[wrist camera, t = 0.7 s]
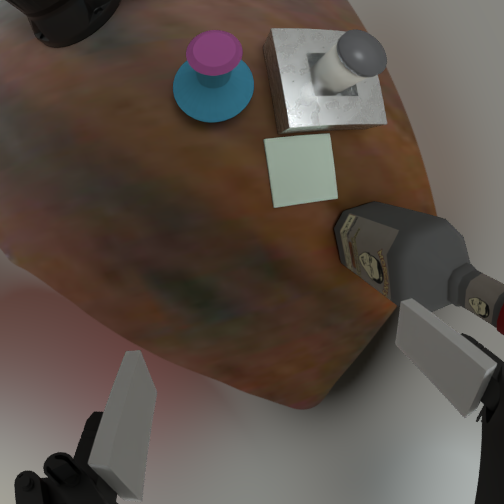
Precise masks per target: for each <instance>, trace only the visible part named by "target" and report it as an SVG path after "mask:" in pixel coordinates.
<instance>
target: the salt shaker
mask: <svg viewBox="0 0 504 504" xmlns="http://www.w3.org/2000/svg"><path fill="white" fill-rule="evenodd" d="M386 64H387V57H386V53H385V50H384V48H383V47H382V45H381V44H380V42H379V41H378V40H377V39H376V38H374V37H373V36H372V35H370V34H369V33H367V32H364V31H361V30H350V31H347V32H345V33H344V34H343V35H342V36H341V37H340V38H339V39H338V42H337V43H336V44H335V45H334V46H333V47H332V48H331V49H330V50H329V51H328V52H327V53H326V54H325V55H323V56H322V57H321V58H320V59H319V60H318V61H317V62H316V63H315V64H314V65H313V66H312V67H311V68H310V74H311V79H312V84H313V89H314V94H315V96H335V95H337V94H338V93H340V92H342V91H344V90H346V89H347V88H349V87H351V86H353V85H355V84H357V83H358V82H360V81H362V80H364V79H366V78H368V77H374V76H376V75H378V74H380V73H381V72H383V71H384V69H385V67H386Z"/></svg>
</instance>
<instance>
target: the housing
mask: <svg viewBox="0 0 504 504" xmlns="http://www.w3.org/2000/svg"><path fill="white" fill-rule="evenodd" d="M344 33H345V32H343V31H333V30H319V29H293V28H277V29H271V30H270V32H269V34H268V37H267V39H266V41H265V43H264V46H263V52H264V57H265V62H266V67H267V73H268V78H269V84H270V89H271V95H272V101H273V107H274V113H275V119H276V125H277V131H278V134H287V133H298V132H311V131H327V130H350V129H368V128H372V127H377V126H381V125H386V124H387V120H386V114H385V109H384V103H383V98H382V93H381V88H380V83H379V79H378V75H376V76H374V77H368V78H366V79H364V80H362V81H360V82H358V83H357V84H355V85H353V86H351V87H349V88H347V89H346V90H344V91H342V92H340V93H338V94H337V95H335V96H315V94H314V89H313V84H312V79H311V74H310V68H311V67H312V66H313V65H314V64H315V63H316V62H317V61H318V60H319V59H320V58H321V57H322V56H323V55H325V54H326V53H327V52H328V51H329V50H330V49H331V48H332V47H333V46H334V45H335V44H336V43H337V42H338V39H339V38H340V37H341V36H342V35H343V34H344Z"/></svg>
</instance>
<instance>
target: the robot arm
mask: <svg viewBox="0 0 504 504" xmlns="http://www.w3.org/2000/svg"><path fill="white" fill-rule="evenodd" d="M6 1H7V2H9V3H10V4H12V5H13V6H14V7H16V8H17V9H18V10H20V11H21V12H23V13H24V14H25V15H26V16H27V17H28V19H29V22H30V25H31V27H32V30H33V32H34V35H35V36H36V38H37V39H38V40H40V41H41V42H42V43H44V44H45V45H47V46H50V47H64V46H68V45H71V44H74V43H76V42H79V41H81V40H83V39H84V38H86V37H88V36H89V35H91V34H92V33H94V32H95V31H96V30H97V29H99V28H100V27H101V26H102V25H103V24H104V23H105V22H106V21H107V20H108V19H109V18H110V17H111V16H112V14H113V13H114V12H115V10H116V8H117V7H118V5H119V3H120V0H6ZM395 344H396V346H398V348H399V349H400V350H401V351H402V352H403V353H404V354H405V355H406V356H407V357H408V358H409V359H410V360H411V361H412V362H413V363H414V364H415V365H416V366H417V367H418V368H419V369H420V370H421V371H422V372H423V374H424V375H425V376H426V377H427V378H428V379H429V380H430V381H431V382H432V383H433V384H434V385H435V386H436V387H437V388H438V390H439V391H440V392H441V393H442V394H443V395H444V396H445V397H446V398H447V399H448V400H449V401H450V402H451V404H452V405H453V406H454V407H455V408H456V409H457V410H458V411H459V412H460V414H461V415H462V416H463V417H464V418H466V417H467V416H469V415H470V414H472V413H473V412H474V411H476V409H477V407H478V405H479V403H480V401H481V402H482V403H483V404H484V406H483V408H482V410H481V411H480V413H479V416H478V417H477V420H476V422H478V421H479V419H480V417H481V416H482V420H481V422H482V444H481V459H480V470H479V478H478V486H477V493H476V499H475V504H504V362H503V361H502V360H501V359H499V358H498V357H497V356H496V355H494V354H493V353H492V352H491V351H489V350H488V349H487V348H484V346H483V345H482V344H480V343H478V342H477V341H476V340H475V339H474V338H472V337H471V336H468V335H466V334H463V333H462V334H459V333H458V332H457V331H456V330H454V329H453V328H451V327H450V326H449V325H448V324H446V323H445V322H443V321H442V320H441V319H440V318H438V317H437V316H436V315H434V314H433V313H432V312H430V311H429V310H427V309H426V308H425V307H423V306H422V305H421V304H419V303H418V302H416V301H415V300H414V299H412V298H411V299H407V300H404V301H401V304H400V313H399V321H398V329H397V335H396V342H395ZM156 396H157V390H156V388H155V386H154V383H153V381H152V378H151V376H150V374H149V371H148V369H147V366H146V363H145V361H144V358H143V356H142V353H141V351H140V350H137V351H126V353H125V355H124V358H123V360H122V363H121V366H120V368H119V371H118V373H117V376H116V379H115V382H114V384H113V387H112V390H111V393H110V395H109V398H108V401H107V404H106V407H105V410H104V412H93V413H92V415H91V416H90V417H89V418H88V419H87V421H86V424H85V427H84V431H83V432H82V435H81V439H80V441H79V443H78V447H77V449H76V452H75V456H74V458H72V457H71V456H70V455H69V454H67V453H62V452H58V453H55V454H52V455H51V456H49V457H48V458H47V460H46V461H45V463H44V467H43V469H44V473H45V474H46V475H47V476H48V478H40V477H39V476H38V475H37V474H36V473H35V472H32V471H23V472H21V473H20V474H19V475H18V476H17V478H16V479H15V484H14V486H15V498H16V504H118V503H117V502H116V498H117V494H118V495H119V496H120V497H121V498H122V499H123V500H127V501H137V502H142V497H143V487H144V478H145V470H146V462H147V454H148V446H149V440H150V433H151V426H152V420H153V414H154V408H155V402H156Z"/></svg>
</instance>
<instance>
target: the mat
mask: <svg viewBox="0 0 504 504" xmlns="http://www.w3.org/2000/svg"><path fill="white" fill-rule="evenodd" d="M264 146H265V153H266V159H267V166H268V173H269V180H270V187H271V194H272V201H273V207H274V208H276V207H283V206H289V205H296V204H302V203H309V202H316V201H323V200H330V199H338V195H337V186H336V177H335V169H334V161H333V153H332V146H331V139H330V133H329V134H314V135H301V136H290V137H280V138H270V139H264Z"/></svg>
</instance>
